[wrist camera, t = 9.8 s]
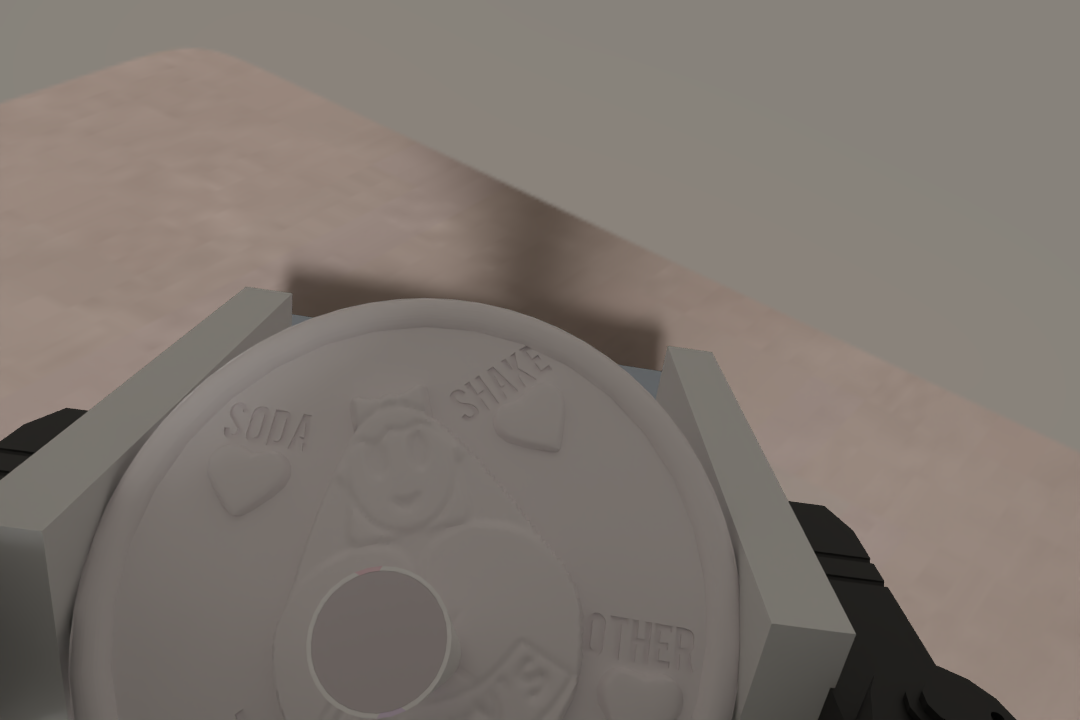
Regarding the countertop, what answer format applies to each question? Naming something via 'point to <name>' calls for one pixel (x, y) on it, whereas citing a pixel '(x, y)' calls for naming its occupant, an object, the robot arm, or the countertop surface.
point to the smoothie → (411, 537)
